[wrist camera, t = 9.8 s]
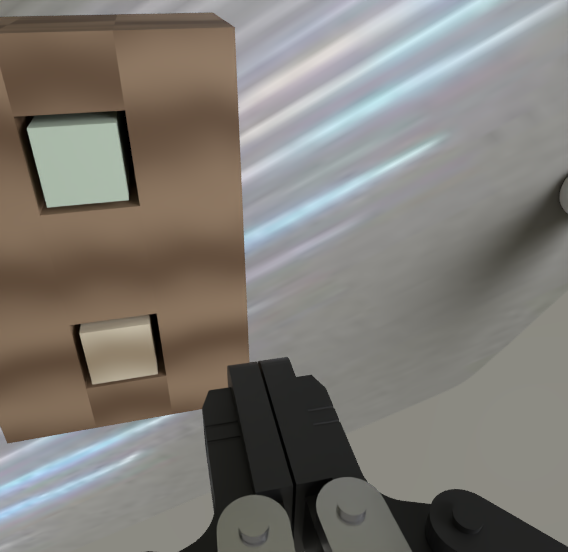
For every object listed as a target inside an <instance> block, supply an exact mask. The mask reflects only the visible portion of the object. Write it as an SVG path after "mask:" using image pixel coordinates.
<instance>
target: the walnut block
mask: <svg viewBox="0 0 568 552" xmlns="http://www.w3.org/2000/svg"><path fill="white" fill-rule="evenodd" d="M122 110H125V113H126V119H127V126H128V132H129V138H130V145H131V151H132V158H133V159H130V161H129V200H125V201H114V202H103V203H92V204H81V205H70V206H59V207H48V208H47V205H46V201H45V197H44V193H43V190H42V186H41V182H40V178H39V174H38V170H37V166H36V162H35V158H34V155H33V151H32V147H31V143H30V139H29V135H28V131H27V127H28V126H29V124H30V122H31V121H32V119H33V118H34V116H35V115H52V114H69V113H87V112H105V111H122ZM148 314H154V319H155V336H156V353H157V369H158V374H155V375H149V376H143V377H137V378H131V379H124V380H118V381H112V382H106V383H99V384H92V381H91V377H90V373H89V369H88V365H87V361H86V357H85V353H84V349H83V346H82V342H81V338H80V327H81V324H83V323H90V322H97V321H105V320H112V319H119V318H126V317H134V316H141V315H148ZM242 363H249V344H248V321H247V299H246V276H245V253H244V231H243V208H242V185H241V162H240V140H239V117H238V94H237V72H236V49H235V27H233V26H232V25H230V24H229V23H227V22H226V21H224V20H223V19H221V18H220V17H218V16H217V15H216V14H214V13H171V14H121V15H72V16H22V17H0V426H1V428H2V431H3V433H4V436H5V438H6V441H7V443H12V442H18V441H24V440H29V439H35V438H40V437H46V436H52V435H57V434H63V433H69V432H74V431H80V430H86V429H91V428H97V427H103V426H108V425H114V424H120V423H125V422H131V421H136V420H142V419H148V418H153V417H159V416H165V415H170V414H176V413H182V412H187V411H193V410H199V409H202V407H203V404H204V402H205V399H206V396H207V394H208V391H209V390H214V389H221V388H228V379H227V366H228V365H235V364H242Z"/></svg>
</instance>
